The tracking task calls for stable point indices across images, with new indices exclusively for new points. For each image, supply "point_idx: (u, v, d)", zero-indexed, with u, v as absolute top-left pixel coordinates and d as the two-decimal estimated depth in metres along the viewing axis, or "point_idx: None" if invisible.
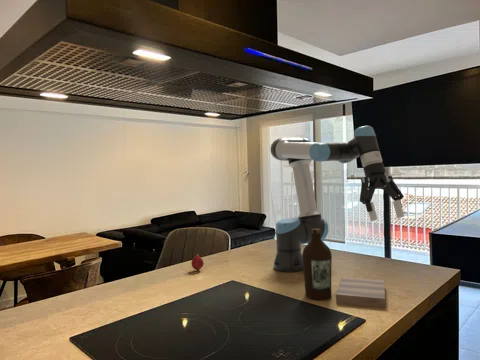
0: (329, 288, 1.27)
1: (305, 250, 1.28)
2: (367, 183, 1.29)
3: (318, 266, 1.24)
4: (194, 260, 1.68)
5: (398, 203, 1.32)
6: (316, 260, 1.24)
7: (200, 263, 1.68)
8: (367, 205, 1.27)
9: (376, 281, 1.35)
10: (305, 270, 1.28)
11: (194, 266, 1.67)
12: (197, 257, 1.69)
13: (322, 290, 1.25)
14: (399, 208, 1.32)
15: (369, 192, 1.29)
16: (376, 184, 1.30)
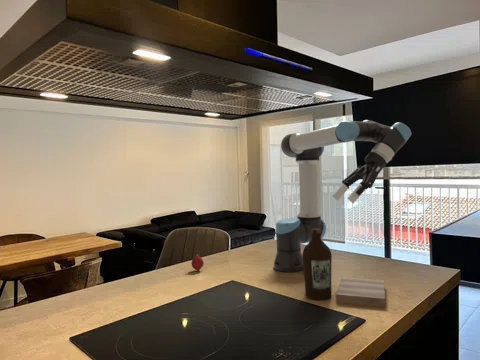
0: (329, 288, 1.27)
1: (305, 250, 1.28)
2: None
3: (318, 266, 1.24)
4: (194, 260, 1.68)
5: (345, 190, 1.37)
6: (316, 260, 1.24)
7: (200, 263, 1.68)
8: (362, 189, 1.22)
9: (376, 281, 1.35)
10: (305, 270, 1.28)
11: (194, 266, 1.67)
12: (197, 257, 1.69)
13: (322, 290, 1.25)
14: (342, 193, 1.37)
15: None
16: None
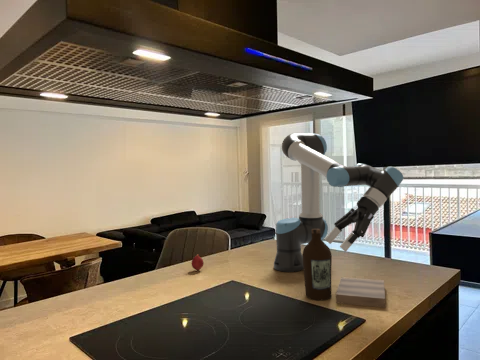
0: (329, 288, 1.27)
1: (305, 250, 1.28)
2: None
3: (318, 266, 1.24)
4: (194, 260, 1.68)
5: (338, 233, 1.36)
6: (316, 260, 1.24)
7: (200, 263, 1.68)
8: (355, 238, 1.21)
9: (376, 281, 1.35)
10: (305, 270, 1.28)
11: (194, 266, 1.67)
12: (197, 257, 1.69)
13: (322, 290, 1.25)
14: (334, 236, 1.36)
15: None
16: None
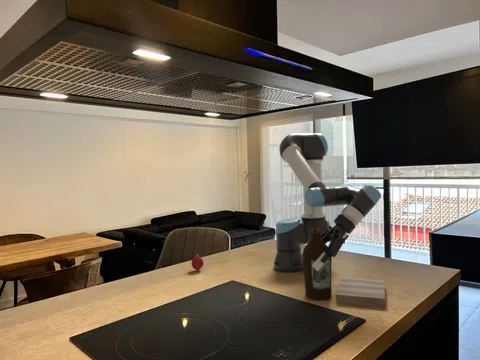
0: (329, 288, 1.27)
1: (305, 250, 1.28)
2: None
3: None
4: (194, 260, 1.68)
5: None
6: None
7: (200, 263, 1.68)
8: (327, 257, 1.22)
9: (376, 281, 1.35)
10: (305, 270, 1.28)
11: (194, 266, 1.67)
12: (197, 257, 1.69)
13: (322, 290, 1.25)
14: None
15: None
16: None
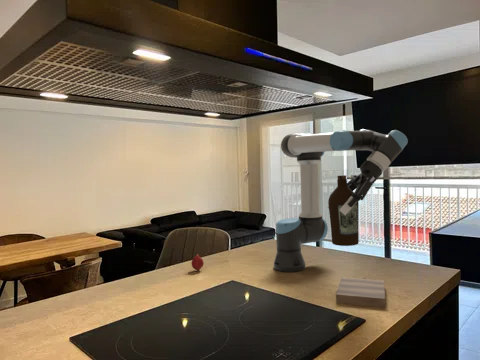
0: (357, 234, 1.25)
1: (331, 196, 1.26)
2: None
3: None
4: (194, 260, 1.68)
5: None
6: None
7: (200, 263, 1.68)
8: (354, 201, 1.21)
9: (376, 281, 1.35)
10: (332, 217, 1.26)
11: (194, 266, 1.67)
12: (197, 257, 1.69)
13: (350, 235, 1.23)
14: None
15: None
16: None
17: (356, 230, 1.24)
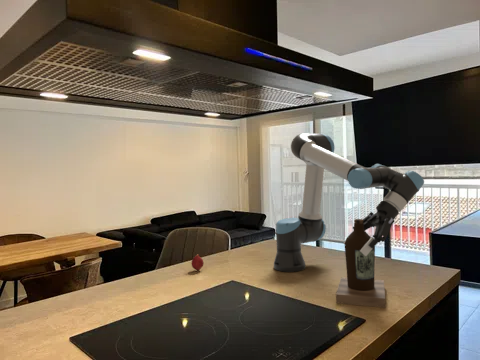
0: (373, 279, 1.26)
1: (348, 240, 1.27)
2: None
3: (363, 256, 1.24)
4: (194, 260, 1.68)
5: None
6: None
7: (200, 263, 1.68)
8: (375, 242, 1.20)
9: (376, 281, 1.35)
10: (348, 260, 1.27)
11: (194, 266, 1.67)
12: (197, 257, 1.69)
13: (366, 280, 1.24)
14: None
15: None
16: None
17: (372, 275, 1.25)
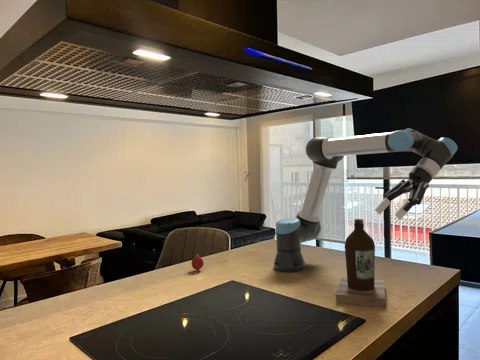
0: (373, 279, 1.26)
1: (348, 240, 1.27)
2: None
3: (363, 256, 1.24)
4: (194, 260, 1.68)
5: (388, 204, 1.36)
6: (360, 250, 1.24)
7: (200, 263, 1.68)
8: (410, 206, 1.21)
9: (376, 281, 1.35)
10: (348, 260, 1.27)
11: (194, 266, 1.68)
12: (197, 257, 1.69)
13: (366, 281, 1.24)
14: (384, 207, 1.36)
15: (415, 195, 1.24)
16: None
17: (372, 275, 1.25)
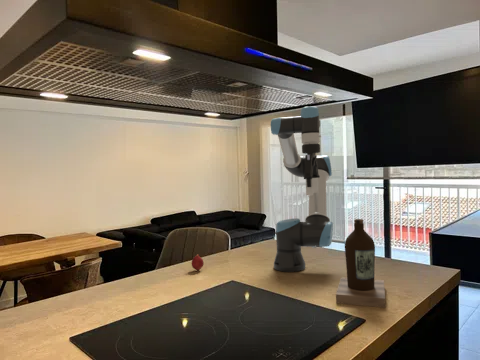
0: (373, 279, 1.26)
1: (348, 240, 1.27)
2: (311, 161, 1.41)
3: (363, 256, 1.24)
4: (194, 260, 1.68)
5: (316, 180, 1.53)
6: (360, 250, 1.24)
7: (200, 263, 1.68)
8: (309, 181, 1.40)
9: (376, 281, 1.35)
10: (348, 260, 1.27)
11: (194, 266, 1.67)
12: (197, 257, 1.69)
13: (366, 281, 1.24)
14: (316, 185, 1.54)
15: None
16: (314, 163, 1.44)
17: (372, 275, 1.25)
